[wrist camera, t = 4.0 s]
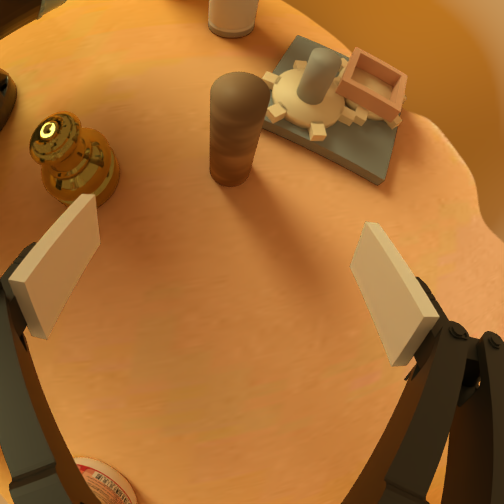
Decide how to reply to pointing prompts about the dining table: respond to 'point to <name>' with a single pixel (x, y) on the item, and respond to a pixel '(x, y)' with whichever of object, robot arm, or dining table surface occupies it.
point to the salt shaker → (74, 159)
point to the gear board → (337, 105)
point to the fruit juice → (105, 482)
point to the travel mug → (232, 17)
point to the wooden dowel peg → (235, 125)
